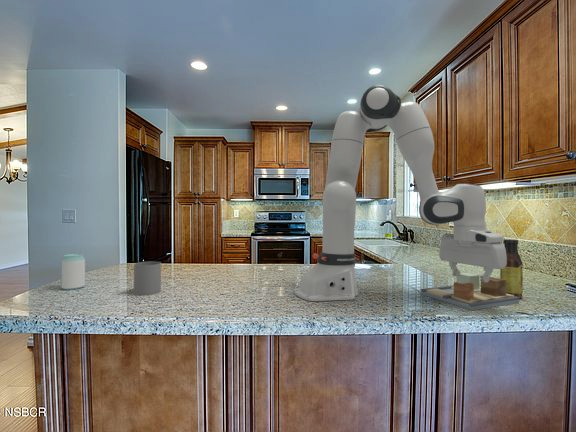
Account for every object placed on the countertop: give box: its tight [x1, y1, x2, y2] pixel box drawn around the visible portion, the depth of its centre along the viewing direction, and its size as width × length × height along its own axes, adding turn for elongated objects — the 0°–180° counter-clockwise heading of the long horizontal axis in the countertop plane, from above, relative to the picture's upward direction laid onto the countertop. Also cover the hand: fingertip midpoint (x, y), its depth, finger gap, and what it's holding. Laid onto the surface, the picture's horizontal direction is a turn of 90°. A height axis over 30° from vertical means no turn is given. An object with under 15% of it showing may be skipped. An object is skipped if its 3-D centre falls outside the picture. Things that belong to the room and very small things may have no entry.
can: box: [60, 253, 86, 291], centre depth 108 cm, size 7×7×12 cm
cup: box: [133, 260, 162, 297], centre depth 104 cm, size 8×8×10 cm
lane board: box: [420, 284, 520, 311], centre depth 101 cm, size 22×19×2 cm
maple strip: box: [451, 281, 514, 303], centre depth 98 cm, size 20×7×5 cm, turn 112°
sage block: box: [456, 272, 481, 290], centre depth 108 cm, size 5×5×5 cm
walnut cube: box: [480, 276, 506, 297], centre depth 99 cm, size 5×5×5 cm
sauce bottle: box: [499, 238, 524, 299], centre depth 104 cm, size 7×6×20 cm
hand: (469, 278), depth 95 cm, fingers open, 8 cm apart
